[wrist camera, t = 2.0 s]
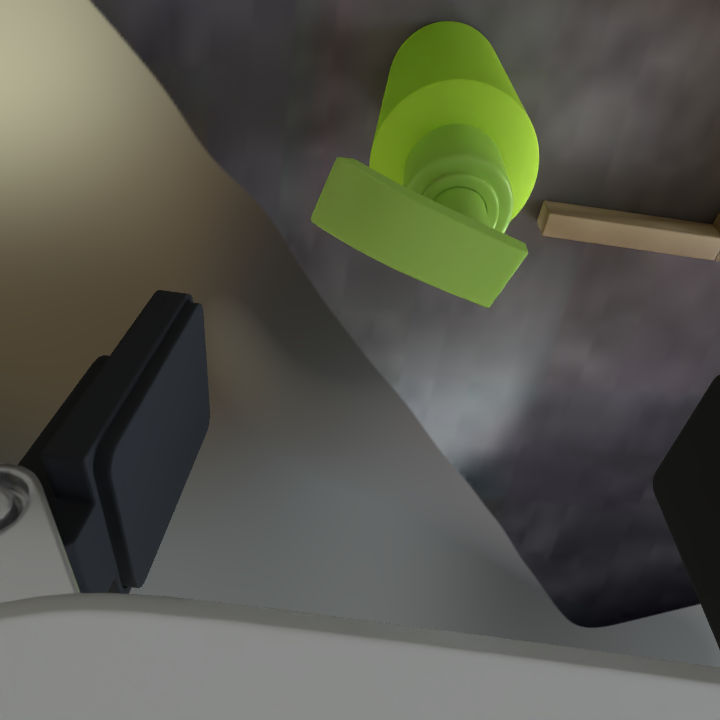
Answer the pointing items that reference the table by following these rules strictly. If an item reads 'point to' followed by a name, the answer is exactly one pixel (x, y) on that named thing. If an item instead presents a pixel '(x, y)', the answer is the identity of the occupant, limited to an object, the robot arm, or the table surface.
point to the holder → (630, 230)
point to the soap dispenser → (440, 168)
